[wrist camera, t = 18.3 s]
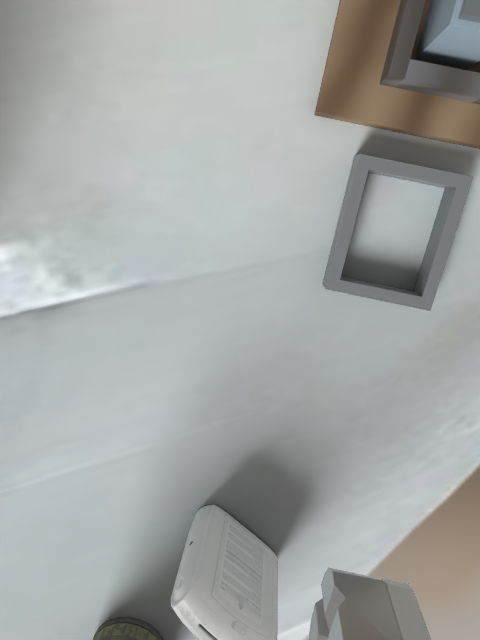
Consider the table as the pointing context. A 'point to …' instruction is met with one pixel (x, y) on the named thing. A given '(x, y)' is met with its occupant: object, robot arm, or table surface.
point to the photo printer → (226, 581)
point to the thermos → (126, 630)
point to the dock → (396, 76)
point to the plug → (451, 33)
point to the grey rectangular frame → (436, 246)
